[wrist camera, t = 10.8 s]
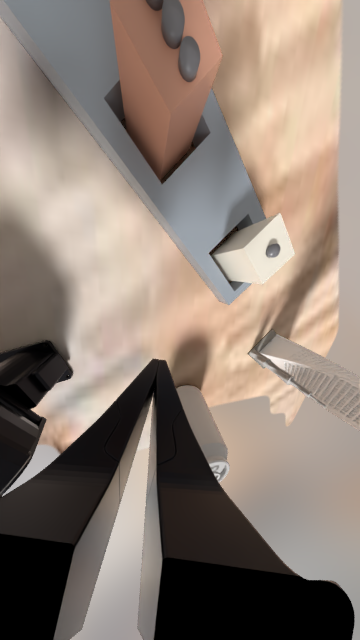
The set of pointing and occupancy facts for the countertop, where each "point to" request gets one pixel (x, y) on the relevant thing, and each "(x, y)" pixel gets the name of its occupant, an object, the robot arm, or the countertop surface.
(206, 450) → the can
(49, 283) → the countertop surface
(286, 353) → the skyscraper
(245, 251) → the cream block
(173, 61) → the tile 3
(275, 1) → the countertop surface
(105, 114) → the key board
